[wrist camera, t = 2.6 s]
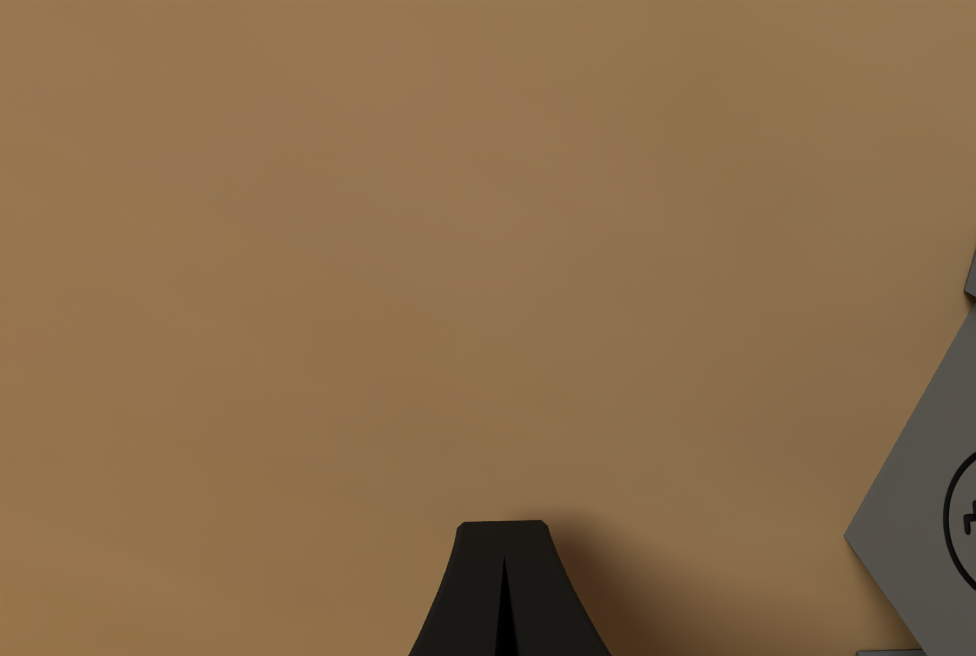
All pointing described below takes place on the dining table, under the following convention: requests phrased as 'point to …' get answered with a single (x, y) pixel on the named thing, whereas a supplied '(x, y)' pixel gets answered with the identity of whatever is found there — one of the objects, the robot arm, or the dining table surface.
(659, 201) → the dining table surface
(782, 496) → the dining table surface
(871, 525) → the dice cube
